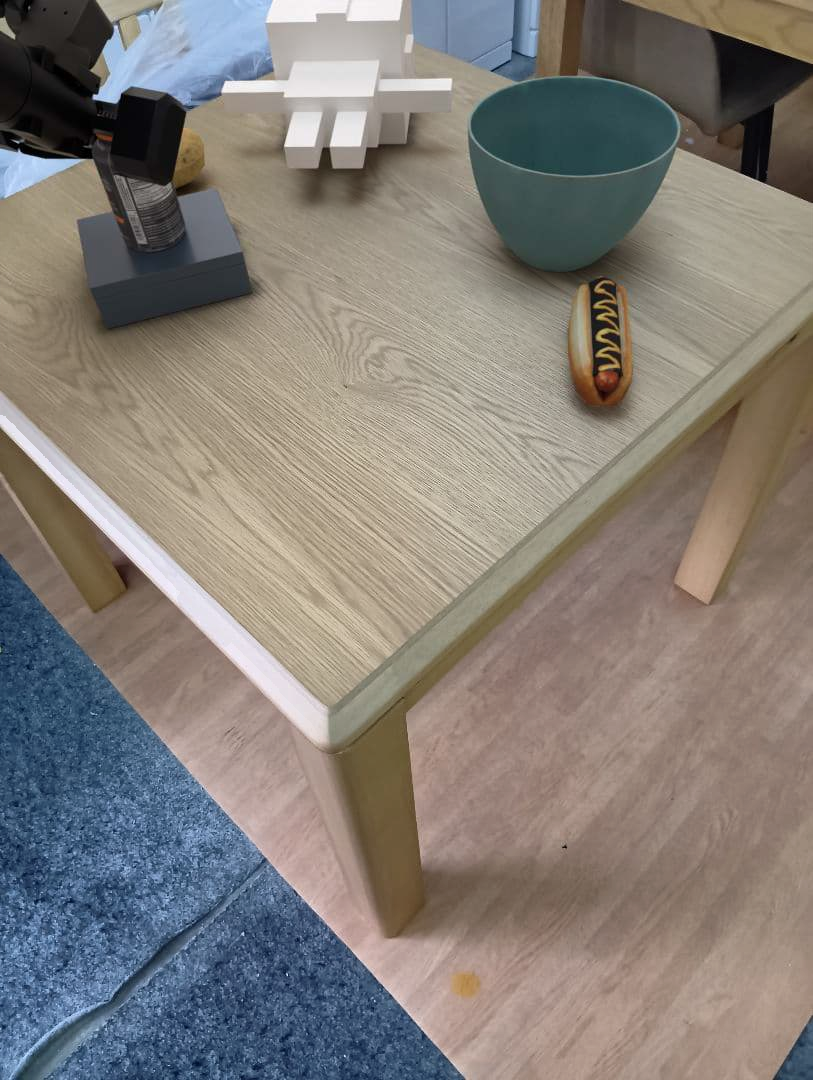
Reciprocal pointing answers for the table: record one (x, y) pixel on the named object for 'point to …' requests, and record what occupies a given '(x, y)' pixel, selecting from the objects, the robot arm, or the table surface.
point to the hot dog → (600, 343)
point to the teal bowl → (569, 164)
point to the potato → (189, 158)
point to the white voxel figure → (340, 79)
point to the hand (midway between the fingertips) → (143, 159)
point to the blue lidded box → (164, 264)
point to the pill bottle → (139, 205)
